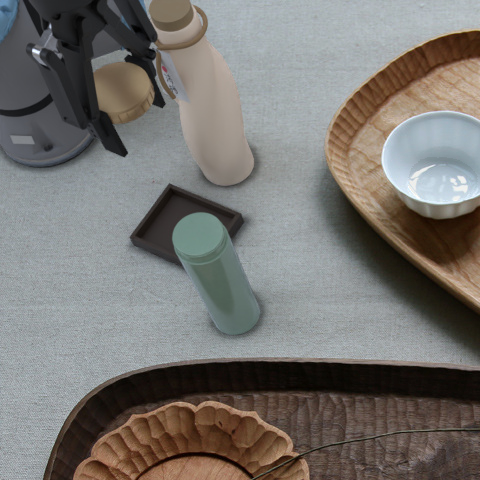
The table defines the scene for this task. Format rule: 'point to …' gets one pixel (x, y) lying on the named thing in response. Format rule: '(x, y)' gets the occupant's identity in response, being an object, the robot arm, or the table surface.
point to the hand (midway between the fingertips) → (136, 126)
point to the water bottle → (201, 91)
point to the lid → (123, 91)
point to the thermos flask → (216, 272)
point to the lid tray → (177, 220)
